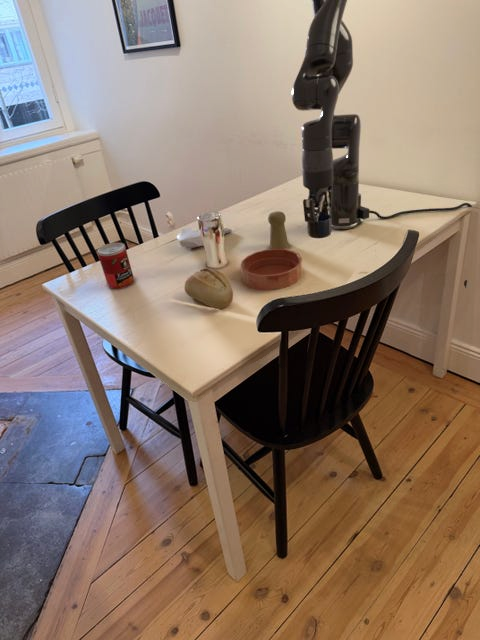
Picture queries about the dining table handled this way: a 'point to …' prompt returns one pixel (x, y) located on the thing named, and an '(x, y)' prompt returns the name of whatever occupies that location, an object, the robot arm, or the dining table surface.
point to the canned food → (115, 265)
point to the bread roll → (210, 288)
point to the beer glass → (212, 238)
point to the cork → (277, 230)
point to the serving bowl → (272, 269)
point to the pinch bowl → (322, 226)
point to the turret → (193, 237)
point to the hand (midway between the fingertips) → (319, 229)
